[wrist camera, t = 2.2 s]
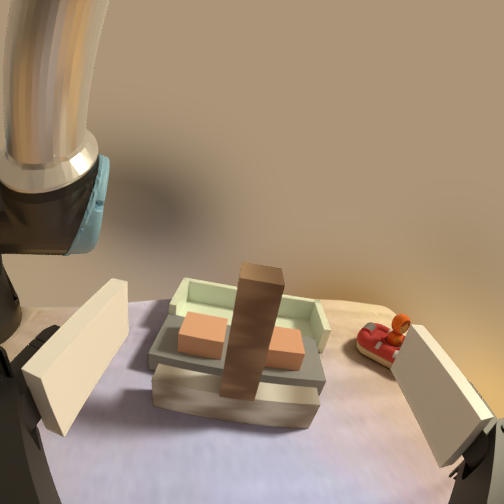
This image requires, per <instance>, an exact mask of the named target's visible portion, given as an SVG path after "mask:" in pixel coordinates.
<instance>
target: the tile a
mask: <svg viewBox="0 0 504 504" xmlns="http://www.w3.org/2000/svg"><path fill="white" fill-rule="evenodd" d="M227 322H228V319H227V318H221V317H216V316H210V315H205V314H199V313H194V312H189V311H188V312H187V314H186V317H185V319H184V321H183V324H182V326H181V328H180V331H179V333H178V348H177V351H178V352H183V353H188V354H193V355H198V356H203V357H208V358H214V359H220V360H221V357H222V351H223V346H224V340H225V334H226V328H227Z"/></svg>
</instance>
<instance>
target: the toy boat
mask: <svg viewBox="0 0 504 504" xmlns="http://www.w3.org/2000/svg"><path fill="white" fill-rule="evenodd" d="M409 326H410V319H409V317H408V316H406V315H405V314H399V315H397V316H395V317H394V319H393V321H392V329H393V330H391V329H389V328H387V327H385V326H383V325H381V324H377V323H371V322H370V323H368V324H366V325H365V326H364V327H363V328H362V329H361V330H360V332H359V333H358V335H357V342H356V344H357V348H358V350H359V351H360V352H361V353H362V354H363V355H365V356H367V357H369V358H371V359H373V360H375V361H376V362H378V363H380V364H382V365H384V366H386V367H388V368H389V369H391V367H392V365H393V363H394V360H395V358H396V356H397V354H398V352H399V350H400V348H401V346H402V344H403V341H404V339H405V337H406V336H404V335H402V334H403V333H405V332H406V331H407V330H408V328H409Z"/></svg>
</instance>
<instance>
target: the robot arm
mask: <svg viewBox="0 0 504 504" xmlns="http://www.w3.org/2000/svg"><path fill="white" fill-rule="evenodd" d="M109 1H110V0H11V2H10V8H9V14H8V21H7V27H6V36H5V47H4V60H3V112H4V127H5V138H6V144H5V145H4V146H3V148H2V149H1V151H0V344H1V343H2V342H4V341H5V340H7V339H8V338H9V337H10V336H11V335H12V334H13V333H14V332H15V331H16V330H17V328H18V326H19V325H20V322H21V318H22V312H21V307H20V302H19V298H18V296H17V294H16V292H15V290H14V288H13V285H12V284H11V281H10V279H9V277H8V275H7V273H6V271H5V268H4V266H3V263H2V256H1V254H37V255H63V256H68V255H70V254H83V253H88V252H90V251H92V250H93V249H94V248H95V246H96V244H97V241H98V238H99V233H100V228H101V222H102V216H103V215H102V214H103V205H104V201H105V196H106V190H107V184H108V176H109V166H110V161H109V159H108V157H106V156H103V155H101V154H98V144H97V141H96V139H95V137H94V136H93V135H92V134H91V133H90V132H89V131H88V130H87V129H86V121H87V111H88V102H89V95H90V86H91V81H92V74H93V69H94V63H95V58H96V53H97V48H98V43H99V39H100V35H101V31H102V26H103V22H104V19H105V15H106V12H107V8H108V4H109ZM127 289H128V287H127V281H123V280H118V279H114V278H112V279H111V280H110V281H109V282H107V283H106V284H105V285H104V286H103V287H102V288H101V289H100V290H99V291H98V292H97V293H96V294H94V295H93V296H92V297H91V298H90V299H89V300H88V301H87V302H86V303H85V304H84V305H83V306H82V307H81V308H80V309H79V310H78V311H77V312H76V313H75V314H74V315H73V316H72V317H71V318H69V319H68V320H67V321H66V322H65V323H64V324H63V325H62V326H61V327H60V326H57V325H53V326H50V327H48V328H46V329H44V330H43V331H42V332H41V333H40V334H39V335H37V336H36V337H35V339H33V340H32V341H31V342H30V343H29V346H28V345H27V346H26V347H25V348H24V349H23V350H22V351H21V352H20V353H19V354H18V355H17V356H16V357H15V358H14V359H13V361H12V362H11V363H10V362H9V359H8V356H7V353H6V351H5V349H4V348H3V347H1V346H0V504H62V503H61V501H60V498H59V496H58V493H57V490H56V488H55V485H54V482H53V479H52V476H51V473H50V470H49V466H48V463H47V460H46V456H45V453H44V449H43V445H42V441H41V437H40V433H39V429H38V427H37V423H38V422H39V420H40V419H42V421H43V423H44V425H45V427H46V429H48V430H50V431H52V432H55V433H57V434H59V435H61V436H63V437H65V435H66V434H67V432H68V430H69V428H70V427H71V425H72V423H73V422H74V420H75V418H76V416H77V415H78V413H79V411H80V410H81V408H82V406H83V405H84V403H85V401H86V400H87V398H88V397H89V395H90V393H91V392H92V390H93V388H94V387H95V385H96V384H97V382H98V380H99V379H100V377H101V376H102V374H103V372H104V371H105V369H106V368H107V366H108V365H109V363H110V361H111V360H112V358H113V357H114V355H115V354H116V352H117V351H118V349H119V348H120V346H121V345H122V343H123V342H124V340H125V339H126V337H127V336H128V334H129V329H128V298H127V297H128V295H127V294H128V293H127V291H128V290H127ZM390 370H391V372H392V374H393V375H394V377H395V379H396V381H397V383H398V385H399V387H400V388H401V390H402V392H403V394H404V396H405V398H406V400H407V402H408V404H409V406H410V408H411V410H412V412H413V414H414V416H415V418H416V420H417V422H418V424H419V426H420V428H421V430H422V432H423V434H424V436H425V438H426V440H427V442H428V444H429V446H430V448H431V450H432V453H433V455H434V457H435V459H436V461H437V463H438V466H439V468H442V467H445V466H448V465H452V464H454V463H455V461H456V460H457V459H458V458H459V457H460V456H461V455H463V457H464V460H463V461H462V462H461V463H460V464H459V465H458V466H457V467H456V468H455V469H454V470H453V471H452V472H451V473H450V475H449V477H450V478H451V477H452V476H453V475H454V474H455V473H456V472H458V473H457V475H456V476H455V477H454V478H453V479H455V480H456V481H455V484H454V488H453V491H452V494H451V497H450V500H449V503H448V504H504V418H501V419H499V420H498V419H497V417H496V416H495V415H494V413H493V412H492V410H491V409H490V407H489V406H488V405H487V403H486V402H485V401H484V399H482V397H481V395H480V394H479V393H477V390H476V389H475V387H474V386H473V384H472V383H470V382H469V381H468V380H467V379H466V378H465V377H464V375H463V374H462V373H461V372H460V370H459V369H458V368H457V366H456V365H455V364H454V363H453V361H452V360H451V359H450V358H449V356H448V355H447V354H446V353H445V352H444V350H443V349H442V348H441V347H440V345H439V344H438V343H437V342H436V340H435V339H434V338H433V337H432V336H431V334H430V333H429V332H428V331H427V330H426V329H425V328H424V326H423V325H411V326H410V328H409V330H408V332H407V335H406V337H405V339H404V341H403V344H402V346H401V348H400V350H399V352H398V354H397V356H396V358H395V360H394V363H393V365H392V367H391V369H390Z"/></svg>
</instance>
